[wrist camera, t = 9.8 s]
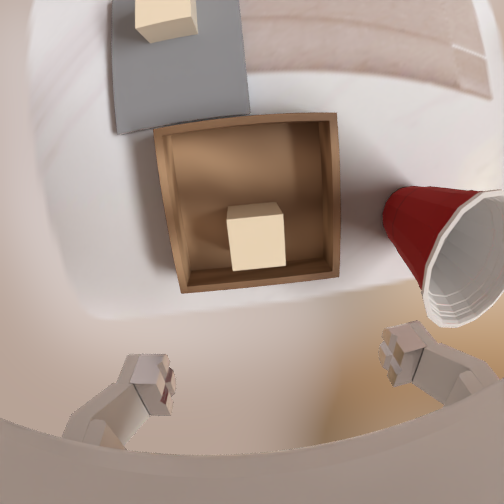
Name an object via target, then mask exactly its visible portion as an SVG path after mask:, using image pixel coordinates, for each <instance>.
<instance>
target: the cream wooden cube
mask: <svg viewBox="0 0 504 504" xmlns="http://www.w3.org/2000/svg"><path fill="white" fill-rule="evenodd" d="M135 29H136V30H137V31H138V32H139V33H140V34H141V35H142V36H143V37H144V38H145V39H146V40H147V41H148V42H149V43H154V42H159V41H163V40H168V39H173V38H178V37H184V36H190V35H196V34H198V24H197V9H196V0H135Z"/></svg>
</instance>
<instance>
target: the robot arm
mask: <svg viewBox="0 0 504 504" xmlns="http://www.w3.org/2000/svg"><path fill="white" fill-rule="evenodd" d="M382 338H383V340H384V341H383V342H382V344H381V345H380V347H379V360H380V363H381V365H382V367H383V368H384V369H386V370H388V374H387V376H388V378H389V380H390V382H391V384H392V386H393V387H396V386H399V385H403V384H407V383H411V382H412V384H414V385H415V386H417V387H418V388H420V389H421V390H423V391H424V392H426V393H427V394H429V395H430V396H432V397H433V398H435V399H436V400H438V401H439V402H441V403H442V404H444V406H443V407H442V408H441V409H439V410H436V411H434V412H431V413H429V414H426V415H423V416H421V417H418V418H415V419H413V420H410V421H407V422H404V423H401V424H398V425H395V426H392V427H389V428H385V429H382V430H379V431H375V432H372V433H368V434H364V435H360V436H357V437H353V438H348V439H344V440H340V441H335V442H330V443H325V444H320V445H315V446H309V447H302V448H296V449H289V450H281V451H272V452H262V453H250V454H234V455H176V454H175V455H174V454H160V453H147V452H138V451H130V450H127V449H126V448H125V447H124V445H125V444H126V443H127V442H128V441H129V440H130V438H131V437H132V436H133V435H134V434H135V433H136V432H137V431H138V429H139V428H140V427H141V426H142V425H143V424H144V423H145V422H146V420H147V419H148V418H149V417H150V415H158V416H171V413H172V407H173V400H172V398H171V397H172V396H173V395H174V394H175V391H176V378H175V374H174V371H173V370H172V369H171V368H170V367H169V364H170V360H169V358H168V355H166V354H129V355H128V356H127V358H126V360H125V363H124V365H123V367H122V370H121V372H120V375H119V377H118V380H117V382H116V383H112V384H111V385H110V386H108V387H107V388H106V389H104V390H103V391H102V392H100V393H99V394H98V395H96V396H95V397H94V398H92V399H91V400H90V401H88V402H87V403H86V404H85V405H83V406H82V407H80V408H79V409H78V410H76V411H75V412H74V413H72V414H71V416H70V418H69V421H68V423H67V425H66V428H65V430H64V432H63V435H62V438H61V437H57V436H53V435H50V434H46V433H42V432H39V431H36V430H33V429H29V428H27V427H24V426H21V425H18V424H15V423H12V422H10V421H7V420H5V419H2V418H0V504H504V378H502V379H499V378H498V377H497V375H496V374H495V373H494V372H493V370H492V369H491V368H490V367H489V365H488V364H487V363H486V362H485V361H483V360H480V359H478V358H475V357H473V356H471V355H468V354H466V353H464V352H461V351H459V350H456V349H454V348H452V347H449V346H447V345H445V344H442V343H439V344H438V343H437V342H436V341H435V339H434V338H433V337H432V336H431V334H430V333H429V332H428V331H427V330H426V328H425V327H424V326H423V325H422V324H421V322H420V321H417V320H416V321H413V322H409V323H406V324H401V325H397V326H393V327H388V328H385V329H384V330H383V333H382Z"/></svg>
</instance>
